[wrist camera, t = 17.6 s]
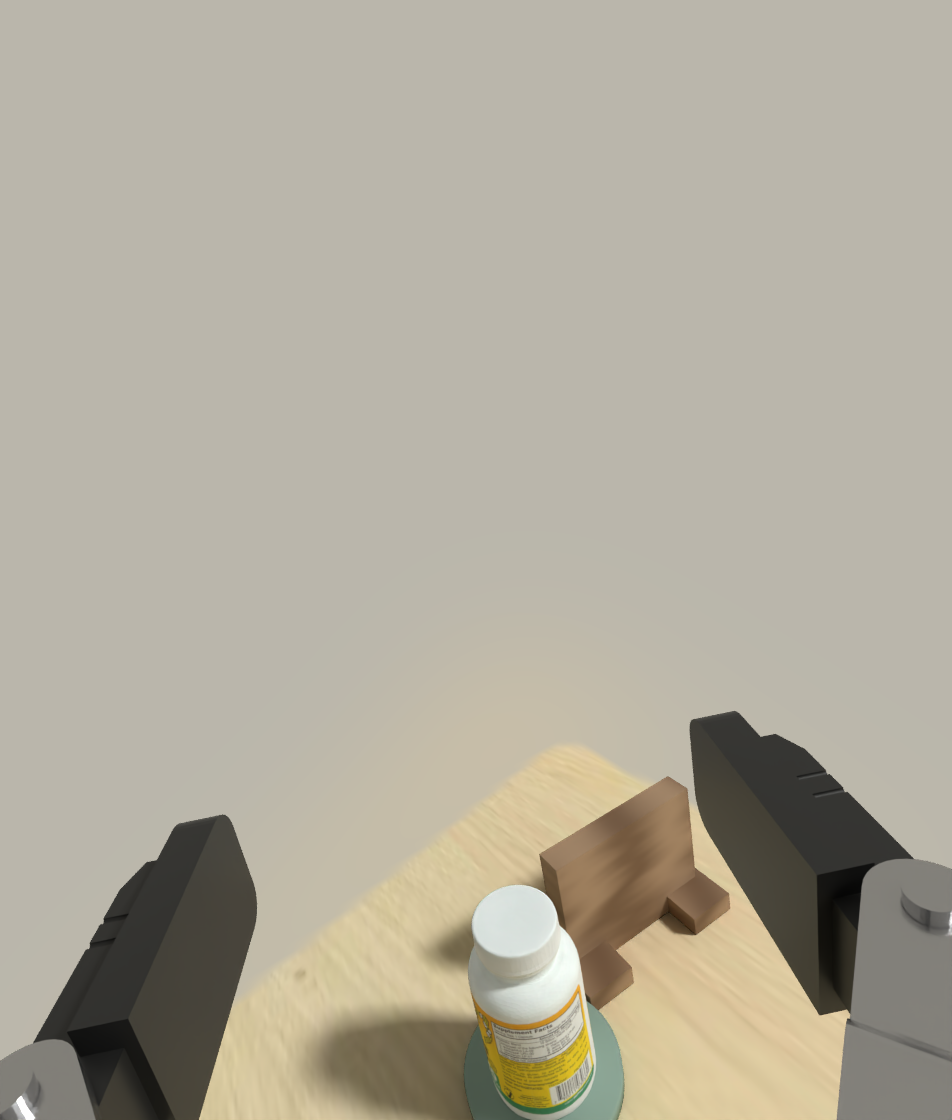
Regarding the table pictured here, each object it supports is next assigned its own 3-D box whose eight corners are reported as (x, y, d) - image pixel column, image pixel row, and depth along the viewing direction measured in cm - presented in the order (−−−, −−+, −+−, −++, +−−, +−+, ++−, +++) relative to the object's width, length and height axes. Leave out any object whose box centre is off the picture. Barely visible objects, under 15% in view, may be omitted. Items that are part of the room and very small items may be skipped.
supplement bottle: (593, 1135, 29) (564, 978, 26) (480, 1117, 31) (441, 967, 28) (600, 1018, 34) (577, 875, 31) (502, 1007, 36) (471, 870, 33)
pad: (436, 1110, 32) (432, 1097, 32) (518, 978, 38) (516, 965, 38) (579, 1212, 28) (576, 1197, 27) (648, 1043, 34) (646, 1029, 33)
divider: (592, 1014, 36) (573, 901, 33) (531, 939, 41) (511, 837, 38) (730, 908, 40) (722, 802, 38) (659, 853, 45) (648, 757, 43)
